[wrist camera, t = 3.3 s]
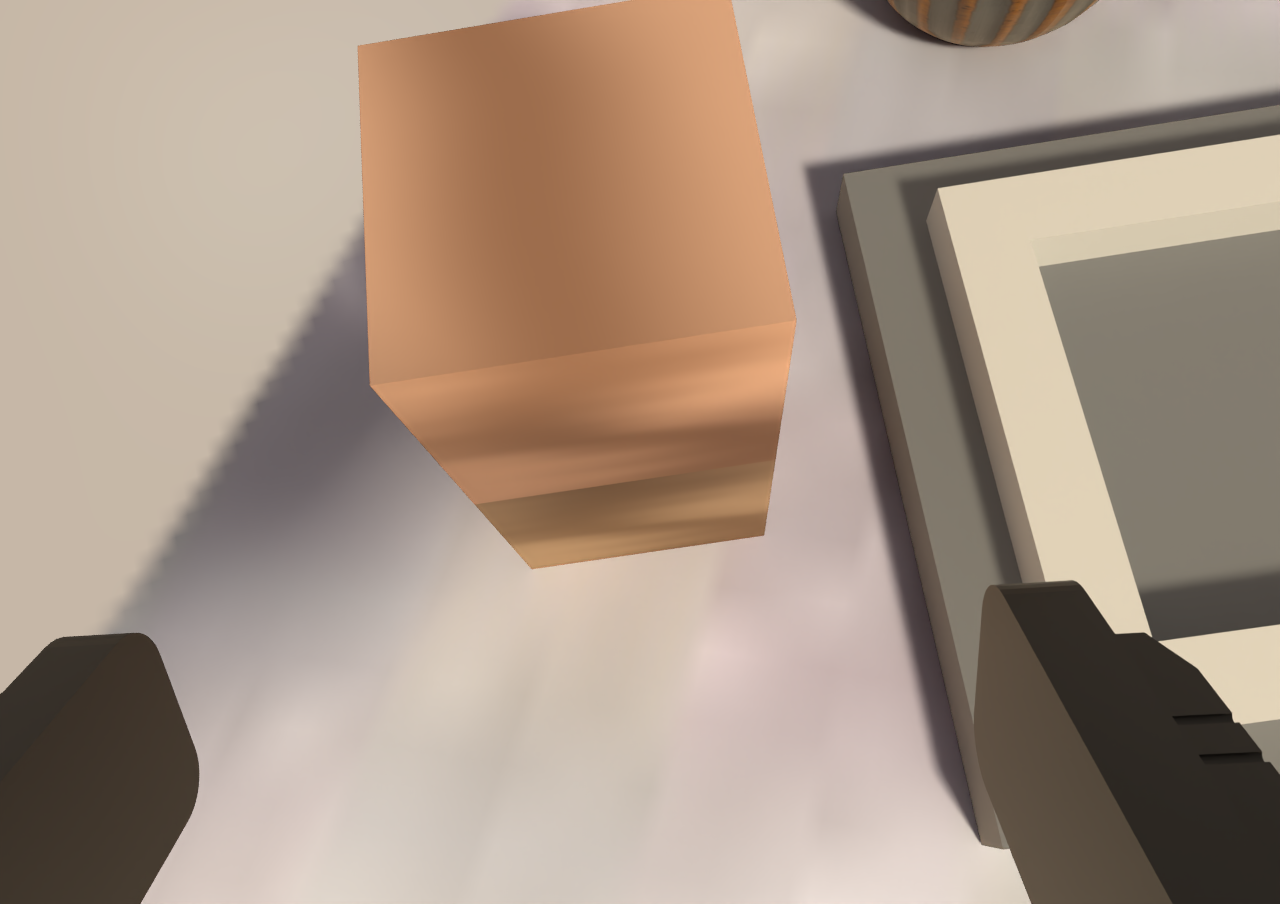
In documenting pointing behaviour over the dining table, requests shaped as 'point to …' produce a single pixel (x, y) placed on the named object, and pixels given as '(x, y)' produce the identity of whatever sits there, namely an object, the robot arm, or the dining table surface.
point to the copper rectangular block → (579, 274)
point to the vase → (989, 18)
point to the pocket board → (1087, 390)
